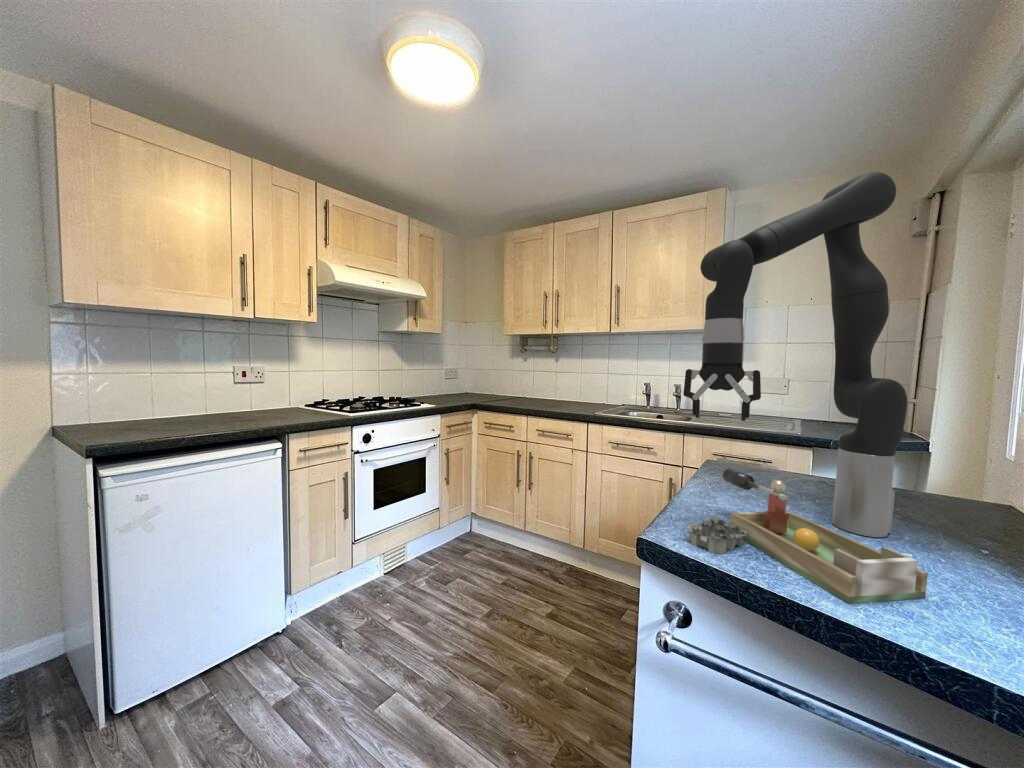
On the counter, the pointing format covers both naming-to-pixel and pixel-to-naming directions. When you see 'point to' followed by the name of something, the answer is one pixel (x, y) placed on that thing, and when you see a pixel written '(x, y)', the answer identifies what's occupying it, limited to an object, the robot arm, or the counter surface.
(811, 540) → the ball
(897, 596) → the wooden tray
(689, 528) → the egg carton
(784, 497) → the foosball player rod
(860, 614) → the counter surface
